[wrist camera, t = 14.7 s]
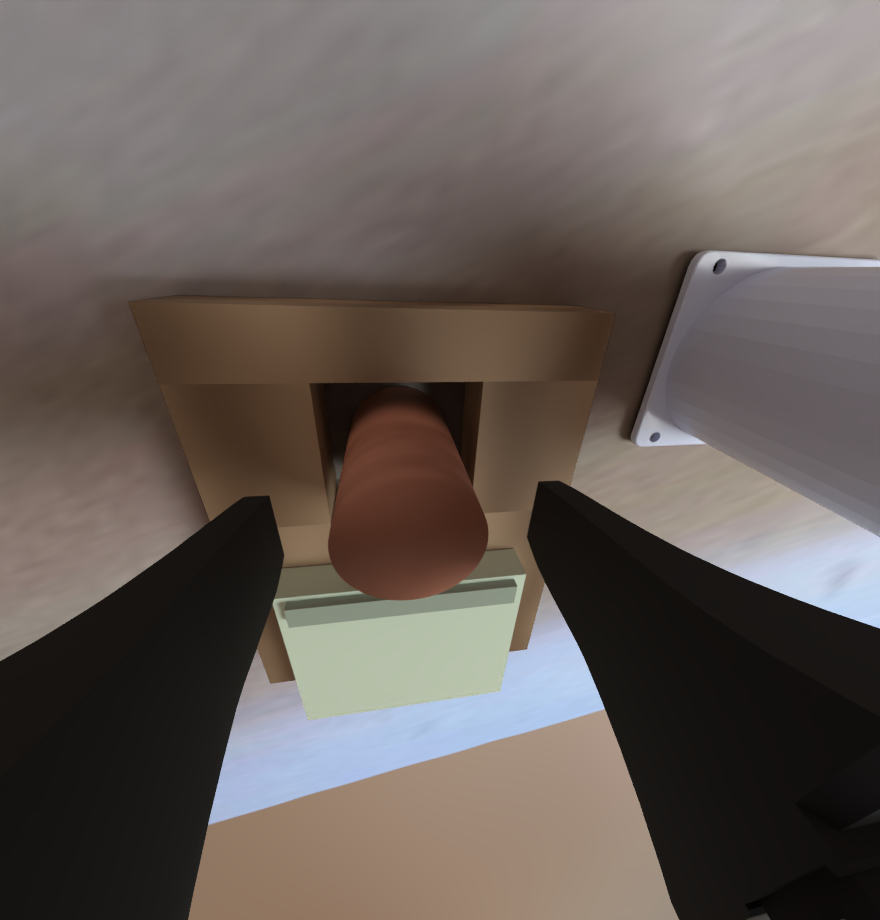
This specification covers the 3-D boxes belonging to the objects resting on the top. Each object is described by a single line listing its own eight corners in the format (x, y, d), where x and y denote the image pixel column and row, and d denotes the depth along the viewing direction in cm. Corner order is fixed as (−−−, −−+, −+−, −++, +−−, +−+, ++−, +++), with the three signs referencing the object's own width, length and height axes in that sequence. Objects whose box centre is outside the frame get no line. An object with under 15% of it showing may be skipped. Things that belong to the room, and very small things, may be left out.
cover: (513, 548, 15) (529, 582, 14) (492, 663, 20) (502, 699, 18) (281, 568, 14) (268, 608, 12) (313, 688, 18) (306, 729, 17)
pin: (463, 423, 15) (519, 528, 9) (406, 486, 16) (422, 617, 10) (389, 365, 13) (395, 446, 7) (331, 440, 14) (295, 564, 8)
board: (577, 305, 13) (616, 313, 11) (512, 611, 22) (526, 649, 20) (177, 294, 11) (127, 301, 9) (282, 638, 20) (270, 683, 18)
